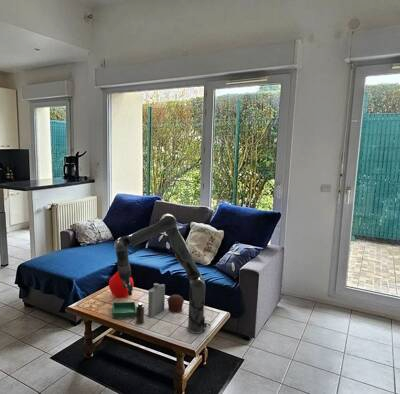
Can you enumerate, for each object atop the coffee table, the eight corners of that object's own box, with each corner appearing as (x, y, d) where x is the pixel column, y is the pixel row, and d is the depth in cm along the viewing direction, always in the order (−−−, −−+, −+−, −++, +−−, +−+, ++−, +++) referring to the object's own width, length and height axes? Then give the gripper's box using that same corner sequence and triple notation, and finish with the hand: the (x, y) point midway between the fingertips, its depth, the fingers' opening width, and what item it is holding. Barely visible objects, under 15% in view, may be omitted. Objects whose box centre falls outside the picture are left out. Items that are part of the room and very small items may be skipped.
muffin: (170, 314, 228) (170, 300, 226) (164, 307, 238) (164, 293, 237) (186, 312, 231) (187, 298, 230) (180, 304, 242) (180, 291, 240)
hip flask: (150, 317, 222) (151, 288, 220) (146, 315, 225) (146, 286, 222) (165, 309, 235) (166, 281, 232) (160, 307, 237) (161, 279, 235)
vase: (123, 302, 243) (123, 262, 239) (103, 296, 253) (103, 257, 249) (138, 294, 258) (138, 256, 254) (119, 288, 268) (119, 251, 264)
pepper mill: (143, 320, 219) (143, 301, 217) (144, 323, 215) (144, 305, 213) (135, 320, 219) (136, 302, 217) (136, 324, 214) (136, 305, 212)
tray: (134, 306, 238) (134, 301, 237) (136, 317, 223) (136, 312, 222) (112, 307, 236) (112, 302, 235) (113, 318, 221) (113, 313, 220)
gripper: (134, 273, 203) (137, 295, 209) (126, 262, 215) (129, 283, 221) (122, 277, 200) (126, 299, 206) (114, 265, 212) (118, 287, 219)
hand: (127, 291), depth 214 cm, fingers open, 8 cm apart
